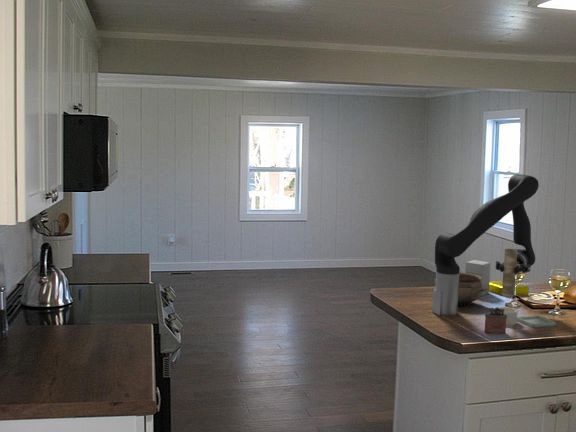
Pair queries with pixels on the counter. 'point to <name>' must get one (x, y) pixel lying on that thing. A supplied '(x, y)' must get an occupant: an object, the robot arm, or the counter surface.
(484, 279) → the supplement box
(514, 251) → the pestle
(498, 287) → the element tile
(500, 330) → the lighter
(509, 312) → the crock
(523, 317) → the tray
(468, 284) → the brown wooden bowl
